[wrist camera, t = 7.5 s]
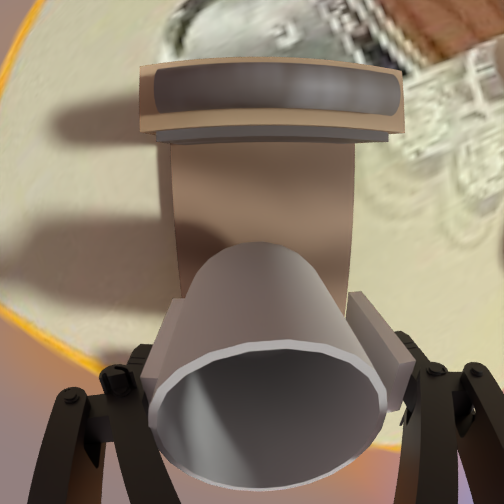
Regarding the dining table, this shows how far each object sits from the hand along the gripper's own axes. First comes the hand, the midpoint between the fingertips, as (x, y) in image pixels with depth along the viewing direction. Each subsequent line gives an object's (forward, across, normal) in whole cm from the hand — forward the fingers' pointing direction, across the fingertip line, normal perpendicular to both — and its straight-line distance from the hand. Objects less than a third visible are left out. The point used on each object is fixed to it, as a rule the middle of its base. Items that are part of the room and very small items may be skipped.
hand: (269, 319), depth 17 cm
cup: (0, 0, 0) cm, 1 cm away
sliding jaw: (+4, 0, +11) cm, 11 cm away
